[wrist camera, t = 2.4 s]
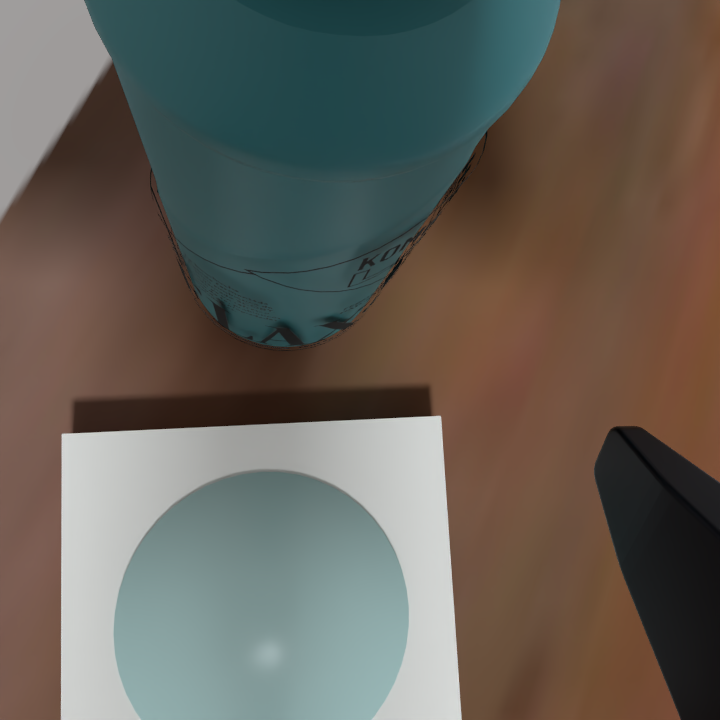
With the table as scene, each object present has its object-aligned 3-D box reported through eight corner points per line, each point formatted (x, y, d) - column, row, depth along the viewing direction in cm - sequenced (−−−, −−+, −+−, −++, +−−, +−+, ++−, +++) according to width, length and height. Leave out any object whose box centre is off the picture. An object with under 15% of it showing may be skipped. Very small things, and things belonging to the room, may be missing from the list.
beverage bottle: (156, 312, 23) (-536, -585, 3) (240, 146, 24) (140, -1275, 4) (331, 391, 23) (720, 67, 4) (405, 225, 24) (1005, -708, 5)
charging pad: (455, 782, 22) (468, 803, 21) (72, 833, 20) (59, 859, 19) (431, 417, 24) (441, 415, 22) (72, 434, 22) (61, 433, 20)
